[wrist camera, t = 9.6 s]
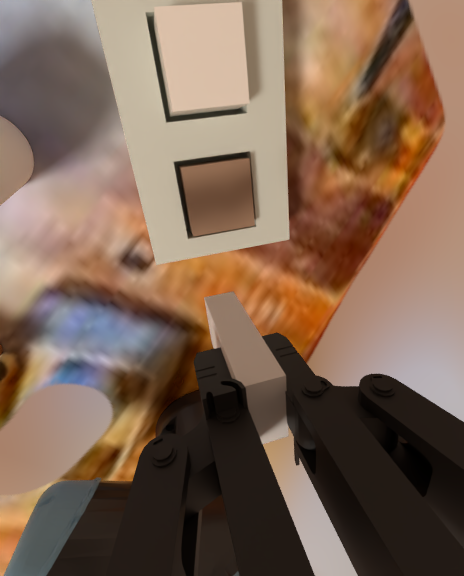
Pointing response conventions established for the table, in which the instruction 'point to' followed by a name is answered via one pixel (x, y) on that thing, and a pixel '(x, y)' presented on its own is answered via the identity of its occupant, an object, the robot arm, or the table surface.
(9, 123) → the cup
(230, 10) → the ivory key
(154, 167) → the key panel
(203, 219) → the walnut key
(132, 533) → the robot arm
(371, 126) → the table surface
